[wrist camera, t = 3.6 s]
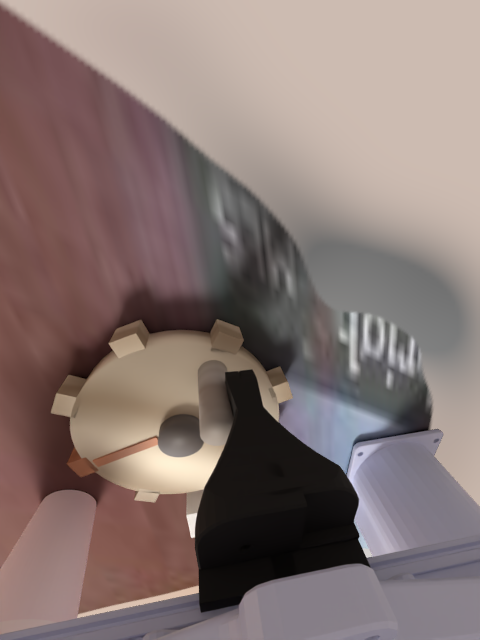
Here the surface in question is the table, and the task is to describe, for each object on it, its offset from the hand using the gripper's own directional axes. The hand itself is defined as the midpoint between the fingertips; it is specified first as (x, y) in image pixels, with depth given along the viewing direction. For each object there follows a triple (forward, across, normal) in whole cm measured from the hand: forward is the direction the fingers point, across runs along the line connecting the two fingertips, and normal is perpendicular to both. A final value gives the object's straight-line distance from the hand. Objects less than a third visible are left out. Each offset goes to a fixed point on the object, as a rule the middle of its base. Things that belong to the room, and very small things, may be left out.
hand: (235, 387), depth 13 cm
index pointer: (+3, +3, +13) cm, 14 cm away
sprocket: (+3, +3, +4) cm, 6 cm away
